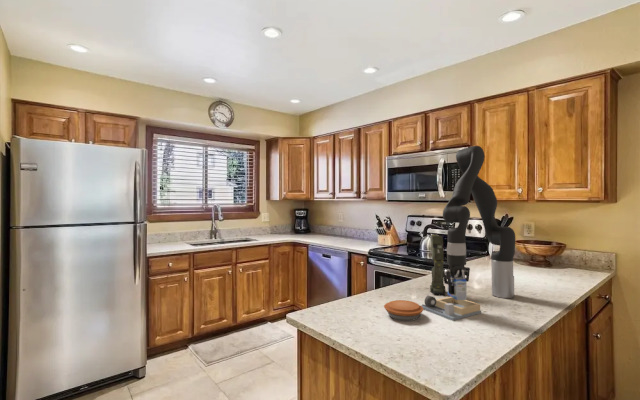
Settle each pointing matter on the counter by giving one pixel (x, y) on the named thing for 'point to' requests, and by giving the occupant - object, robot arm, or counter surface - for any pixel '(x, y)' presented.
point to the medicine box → (459, 289)
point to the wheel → (430, 301)
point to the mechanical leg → (437, 266)
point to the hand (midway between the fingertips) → (456, 292)
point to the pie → (403, 310)
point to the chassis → (453, 308)
